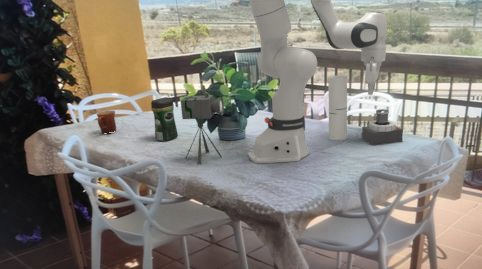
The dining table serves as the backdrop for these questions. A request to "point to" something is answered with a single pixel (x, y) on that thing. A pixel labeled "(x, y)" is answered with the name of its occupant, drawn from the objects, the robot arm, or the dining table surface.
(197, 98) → the camera
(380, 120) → the lens
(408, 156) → the dining table surface
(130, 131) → the dining table surface
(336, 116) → the cylindrical container
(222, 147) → the dining table surface
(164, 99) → the coffee jar
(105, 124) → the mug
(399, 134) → the camera body
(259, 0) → the robot arm
